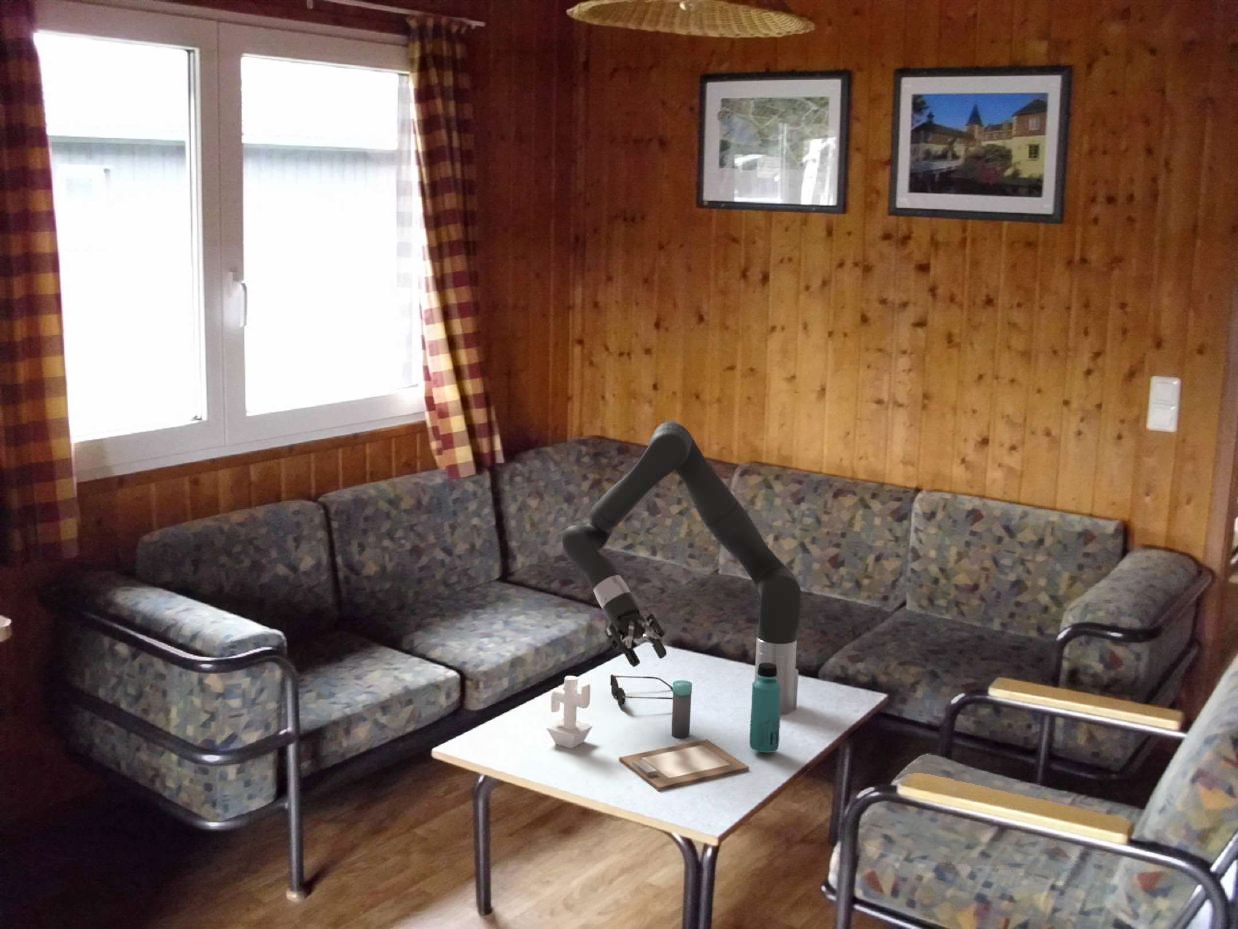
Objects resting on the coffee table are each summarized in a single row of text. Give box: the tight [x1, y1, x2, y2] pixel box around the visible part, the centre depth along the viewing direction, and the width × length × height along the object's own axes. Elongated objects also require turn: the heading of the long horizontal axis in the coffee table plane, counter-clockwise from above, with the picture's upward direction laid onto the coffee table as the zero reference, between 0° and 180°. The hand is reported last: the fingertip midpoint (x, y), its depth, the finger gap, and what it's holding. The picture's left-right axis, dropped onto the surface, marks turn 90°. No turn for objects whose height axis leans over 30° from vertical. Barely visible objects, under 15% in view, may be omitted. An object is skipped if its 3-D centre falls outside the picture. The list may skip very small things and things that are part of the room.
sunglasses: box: [609, 674, 673, 711], centre depth 317 cm, size 14×16×5 cm
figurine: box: [546, 675, 594, 749], centre depth 290 cm, size 7×9×15 cm
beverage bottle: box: [748, 662, 781, 753], centre depth 287 cm, size 6×7×20 cm
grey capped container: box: [671, 679, 693, 740], centre depth 296 cm, size 4×4×12 cm
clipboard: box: [618, 738, 750, 792], centre depth 281 cm, size 22×16×2 cm
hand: (650, 660), depth 301 cm, fingers open, 8 cm apart
